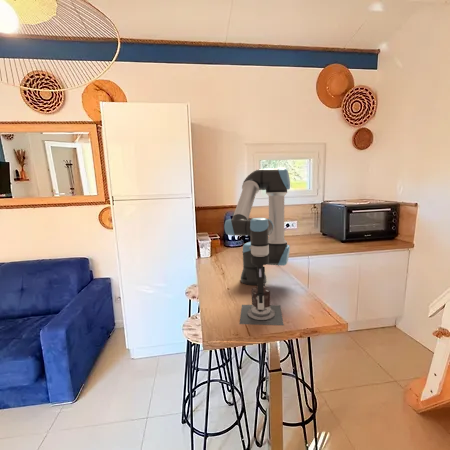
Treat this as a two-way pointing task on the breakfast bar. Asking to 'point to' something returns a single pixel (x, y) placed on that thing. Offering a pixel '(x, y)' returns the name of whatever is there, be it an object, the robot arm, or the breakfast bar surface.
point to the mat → (274, 321)
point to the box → (266, 297)
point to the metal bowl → (261, 313)
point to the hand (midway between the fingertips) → (260, 304)
